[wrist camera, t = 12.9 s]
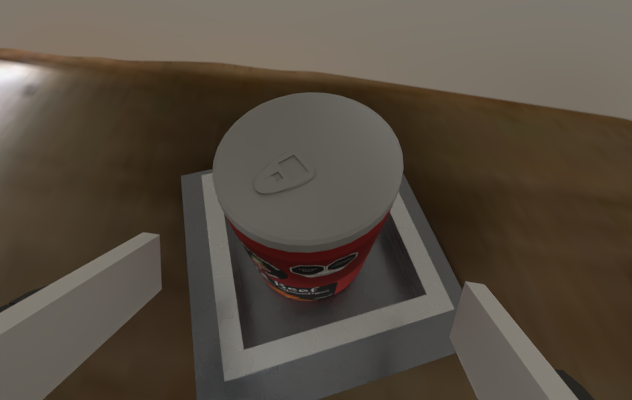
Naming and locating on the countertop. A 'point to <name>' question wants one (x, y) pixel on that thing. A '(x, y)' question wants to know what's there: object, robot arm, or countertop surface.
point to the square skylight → (312, 309)
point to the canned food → (308, 189)
